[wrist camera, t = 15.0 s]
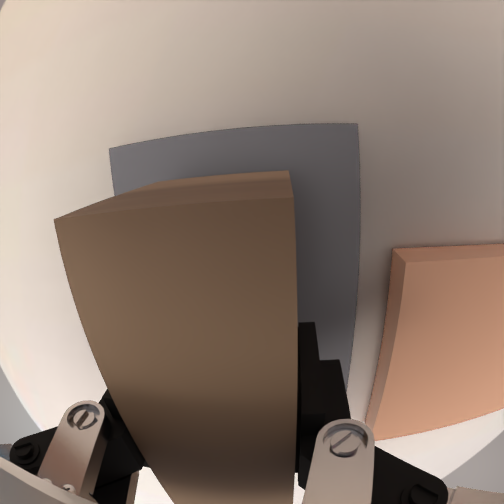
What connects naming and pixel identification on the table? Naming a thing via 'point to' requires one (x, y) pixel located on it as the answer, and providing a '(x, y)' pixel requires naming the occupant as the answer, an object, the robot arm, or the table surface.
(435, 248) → the tile
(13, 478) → the robot arm
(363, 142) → the table surface
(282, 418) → the block
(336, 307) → the mat
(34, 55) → the table surface
